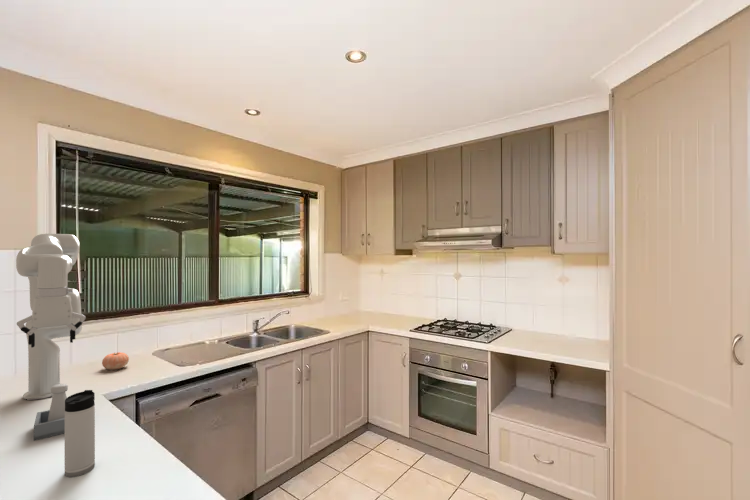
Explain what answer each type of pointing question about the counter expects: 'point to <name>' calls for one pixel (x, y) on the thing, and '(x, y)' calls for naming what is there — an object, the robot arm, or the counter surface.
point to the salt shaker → (58, 402)
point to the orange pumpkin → (115, 361)
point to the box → (47, 426)
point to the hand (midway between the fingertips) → (52, 344)
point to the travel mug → (79, 433)
